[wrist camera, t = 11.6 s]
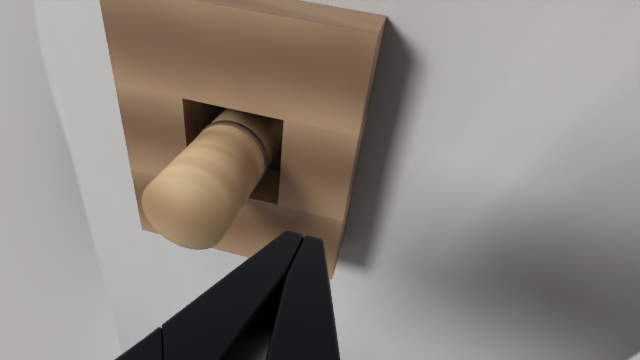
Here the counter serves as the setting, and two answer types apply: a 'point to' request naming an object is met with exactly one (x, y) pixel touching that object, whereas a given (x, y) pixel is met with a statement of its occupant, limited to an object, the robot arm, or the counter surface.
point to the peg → (212, 178)
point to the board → (250, 100)
